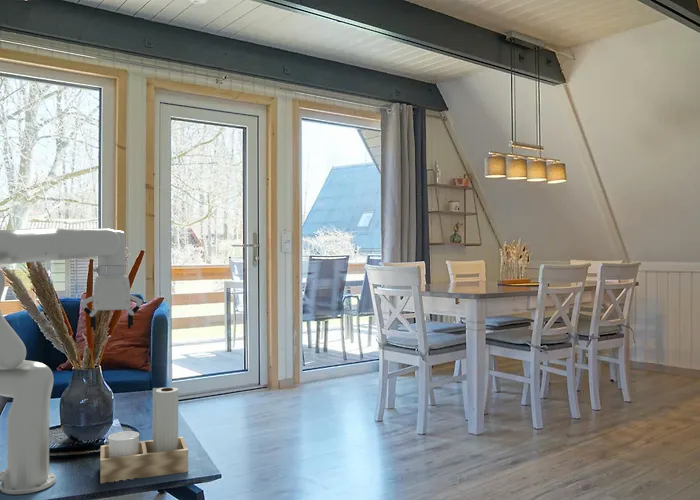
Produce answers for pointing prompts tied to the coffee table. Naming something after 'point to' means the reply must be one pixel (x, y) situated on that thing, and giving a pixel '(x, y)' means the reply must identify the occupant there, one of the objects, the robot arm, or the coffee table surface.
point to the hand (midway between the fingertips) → (111, 329)
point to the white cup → (123, 444)
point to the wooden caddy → (143, 462)
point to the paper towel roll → (165, 419)
